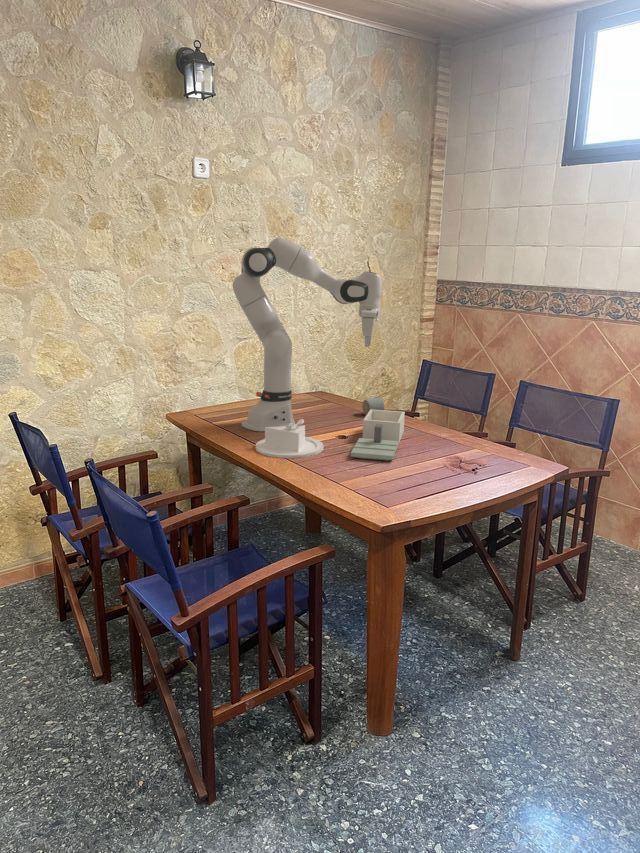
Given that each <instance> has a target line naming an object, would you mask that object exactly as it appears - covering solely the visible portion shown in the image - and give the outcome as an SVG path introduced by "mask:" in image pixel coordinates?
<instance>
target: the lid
mask: <svg viewBox="0 0 640 853" xmlns="http://www.w3.org/2000/svg"><path fill="white" fill-rule="evenodd" d="M382 428H383V425H382V424H376V425H375V430H374V439H367V438H363V437H359V438H358V439H357V441H356V443H355V444H354V446H353V448H352V449H351V452H350V457H352V458H356V459H363V460H374V461H375V460H376V461H377V460H378V461H393V459H394V458H395V454H396V452H397V450H398V447H399V443H398V441H392V440H382Z"/></svg>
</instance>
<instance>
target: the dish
mask: <svg viewBox="0 0 640 853" xmlns="http://www.w3.org/2000/svg"><path fill="white" fill-rule="evenodd" d="M304 422H305V420H304V419H303V418H300V419H298V421H297V422H295V421H294V423H290V424H289V425H287V426H283V427H265V431H264V438H263V439H261V440H259V441H258V442H257V443H255V450H256V452H258V453H260V454H261V455H264V456H268V457H271V458H272V457H273V458H280V459H298V458H299V459H300V457H301V458H307V456H308V457H312V456H316V455H318V454H320V453H321V452H323V450H324V448H325V446H324V444H323V442H322V441H321V440H318V439H316V438H314V437H309V436H306V425H303V424H304ZM311 455H312V456H311Z"/></svg>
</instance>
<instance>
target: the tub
mask: <svg viewBox="0 0 640 853" xmlns="http://www.w3.org/2000/svg"><path fill="white" fill-rule="evenodd" d="M376 424H382V425H383V428H382V440H392V441H398V444H400V442H401V439H402V436H403V434H404V431H405V411H401V410H399V411H398V410H385V409H384V410H371V409H370V411H369V412H368V414H367V415H365V416H364V418H363V420H362V438H367V439H374V430H375V425H376Z"/></svg>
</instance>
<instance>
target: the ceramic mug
mask: <svg viewBox="0 0 640 853" xmlns="http://www.w3.org/2000/svg"><path fill="white" fill-rule="evenodd" d="M385 407H386V406H385V403H384V400H383V398H382V397H381V396H379V397H378V396H377V397H373V398H372V397H371V398H366V399H364V400H363V401H362V405H361V408H362V412H363V413H364V415H365V416H366V415H367V414H368V412H369V411H370V409H371V410H385Z"/></svg>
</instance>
